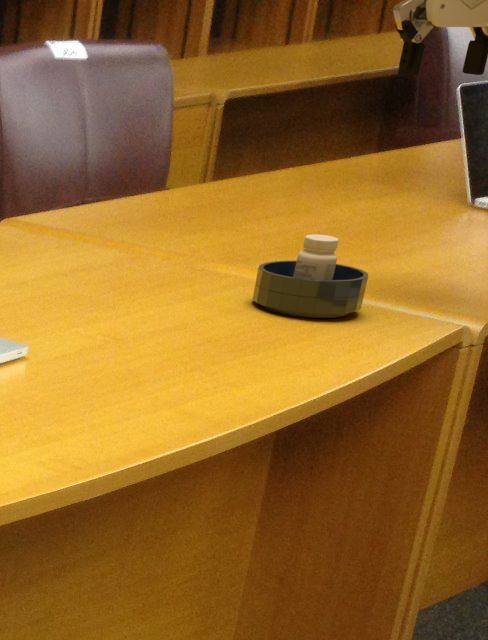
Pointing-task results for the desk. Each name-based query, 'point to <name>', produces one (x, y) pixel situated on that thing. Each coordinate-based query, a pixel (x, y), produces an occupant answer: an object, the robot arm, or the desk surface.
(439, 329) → the desk surface
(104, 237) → the desk surface
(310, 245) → the pill bottle
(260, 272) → the bowl
